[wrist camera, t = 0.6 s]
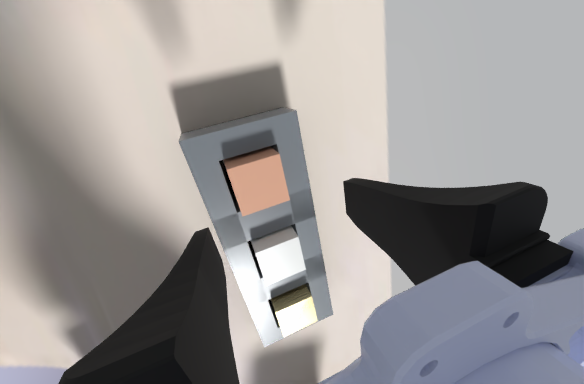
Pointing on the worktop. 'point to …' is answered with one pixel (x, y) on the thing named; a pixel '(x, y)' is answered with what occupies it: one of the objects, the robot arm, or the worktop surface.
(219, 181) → the keypad
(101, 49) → the worktop surface
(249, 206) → the terracotta key
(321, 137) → the worktop surface
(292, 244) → the grey key
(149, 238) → the worktop surface
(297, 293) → the brass key
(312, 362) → the worktop surface
